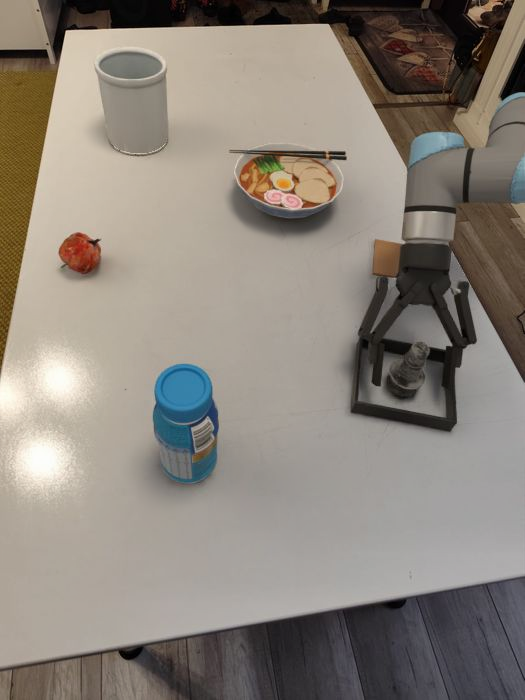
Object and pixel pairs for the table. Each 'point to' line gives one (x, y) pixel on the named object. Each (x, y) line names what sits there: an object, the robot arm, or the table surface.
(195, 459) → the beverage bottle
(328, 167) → the ramen bowl
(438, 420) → the open square frame
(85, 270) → the pomegranate
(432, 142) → the robot arm
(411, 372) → the grey chess piece
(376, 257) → the cork mat
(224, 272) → the table surface
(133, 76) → the utensil holder
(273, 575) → the table surface
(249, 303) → the table surface
